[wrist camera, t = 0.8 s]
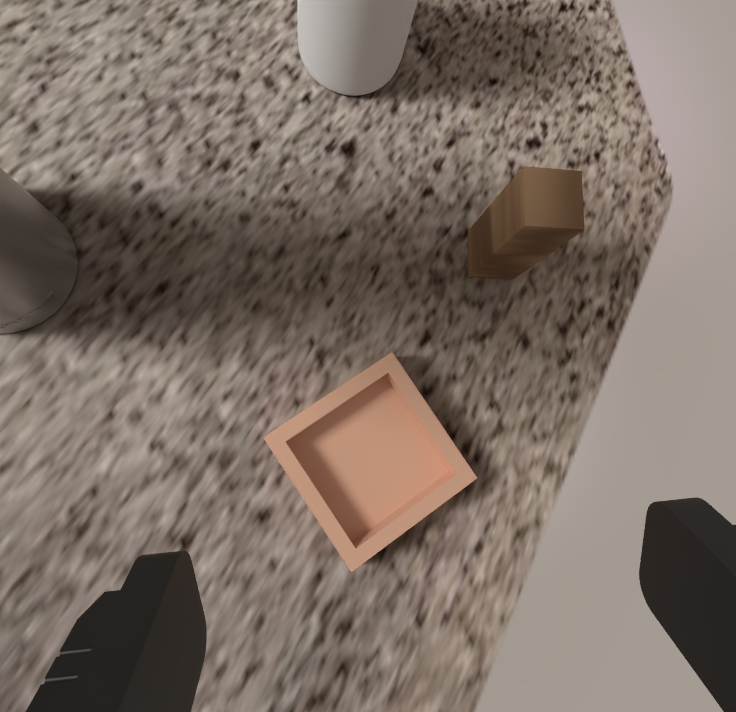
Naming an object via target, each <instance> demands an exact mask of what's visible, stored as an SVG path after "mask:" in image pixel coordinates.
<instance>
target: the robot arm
mask: <svg viewBox="0 0 736 712" xmlns="http://www.w3.org/2000/svg"><path fill="white" fill-rule="evenodd" d="M77 268H78V259H77V251H76V247H75V244H74V242H73V239H72V236H71V235H70V233H69V232H68V230H67V229H66V227H65V226H64V224H63V223H62V222H60V221H59V220H58V219H57V218H56V217H55V216H54V215H53V214H52V213H51V212H50V211H49V210H47V209H46V208H45V207H44V206H43V205H42V204H41V203H39V202H38V201H37V200H36V199H35V198H34V197H33V196H32V195H31V194H29V193H28V192H27V191H26V190H25V189H24V188H23V187H21V186H20V185H19V184H18V183H17V182H16V181H15V180H13V179H12V178H11V177H10V176H9V175H8V174H7V173H5V172H4V171H3V170H2V169H1V168H0V334H5V333H14V332H18V331H22V330H26V329H29V328H31V327H33V326H35V325H38V324H40V323H42V322H43V321H44V320H46V319H47V318H49V317H50V316H52V315H53V314H54V313H55V312H56V311H57V310H58V309H59V308H60V307H61V306H62V305H63V304H64V302H65V301H66V299H67V297H68V296H69V294H70V293H71V291H72V288H73V286H74V283H75V280H76V277H77ZM639 579H640V585H641V589H642V592H643V595H644V598H645V600H646V603H647V605H648V606H649V608H650V610H651V611H652V613H653V614H654V615H655V617H656V618H657V620H658V621H659V622H660V624H661V625H662V627H663V628H664V629H665V631H666V632H667V634H668V635H669V636H670V638H671V639H672V641H673V642H674V643H675V644H676V646H677V647H678V649H679V650H680V652H681V653H682V654H683V656H684V657H685V659H686V660H687V661H688V663H689V664H690V665H691V667H692V668H693V670H694V671H695V672H696V673H697V675H698V676H699V678H700V679H701V681H702V682H703V683H704V685H705V686H706V688H707V689H708V690H709V692H710V693H711V694H712V696H713V697H714V698H715V700H716V701H717V703H718V704H719V706H720V707H721V708H722V710H723V711H724V712H736V525H732V524H731V523H730V522H729V521H727V520H726V519H725V518H724V517H723V516H722V515H721V514H720V513H718V512H717V511H716V510H715V509H714V508H713V507H712V506H711V505H709V504H708V503H707V502H706V501H704V500H702V499H700V498H688V499H678V500H669V501H659V502H654V503H652V504H650V506H649V507H648V510H647V515H646V523H645V530H644V538H643V546H642V555H641V562H640V570H639ZM205 651H206V621H205V616H204V611H203V607H202V603H201V599H200V595H199V590H198V586H197V582H196V578H195V573H194V569H193V565H192V561H191V558H190V555H189V554H188V552H187V551H177V552H168V553H158V554H149V555H141V556H139V557H138V558H137V559H136V560H135V562H134V564H133V566H132V568H131V570H130V572H129V574H128V576H127V578H126V580H125V582H124V584H123V586H122V588H121V590H118V591H109V592H104V593H103V594H102V595H101V596H100V597H99V598H98V599H97V600H96V601H95V602H94V603H93V604H92V605H91V606H90V607H89V608H88V609H87V610H86V611H85V612H84V613H83V614H82V615H81V616H80V617H79V618H78V619H77V621H76V623H75V625H74V626H73V628H72V630H71V632H70V634H69V635H68V637H67V639H66V641H65V643H64V644H63V646H62V648H61V650H60V656H59V657H56V659H55V660H54V662H53V664H52V666H51V668H50V669H49V671H48V673H47V675H46V677H45V683H44V684H41V685H40V687H39V689H38V691H37V693H36V694H35V696H34V698H33V700H32V702H31V703H30V705H29V707H28V709H27V710H26V712H191V709H192V705H193V701H194V697H195V693H196V689H197V685H198V681H199V677H200V674H201V670H202V666H203V662H204V657H205Z"/></svg>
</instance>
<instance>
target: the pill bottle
mask: <svg viewBox="0 0 736 712" xmlns="http://www.w3.org/2000/svg"><path fill="white" fill-rule="evenodd" d="M417 2H418V0H298V45H299V51H300V55H301V58H302V61H303V63H304V65H305V67H306V69H307V70H308V72H309V73H310V74H311V76H312V77H313V78H314V79H315V80H316V81H317V82H318V83H320V84H321V85H322V86H324V87H325V88H327V89H329V90H331V91H333V92H336V93H339V94H343V95H351V96H357V95H365V94H368V93H371V92H374V91H376V90H378V89H380V88H381V87H383V86H384V85H385V84H386V83H387V82H389V80H390V79H391V78H392V77H393V75H394V74H395V72H396V70H397V68H398V66H399V64H400V62H401V59H402V55H403V52H404V48H405V44H406V41H407V37H408V34H409V30H410V27H411V23H412V20H413V16H414V13H415V9H416V5H417Z"/></svg>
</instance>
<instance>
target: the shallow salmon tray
mask: <svg viewBox="0 0 736 712" xmlns="http://www.w3.org/2000/svg"><path fill="white" fill-rule="evenodd" d="M263 438H264V440H265V441H266V443H267V444H268V446H269V447H270V449H271V450H272V452H273V453H274V455H275V456H276V458H277V459H278V461H279V462H280V464H281V465H282V467H283V469H284V470H285V472H286V473H287V475H288V476H289V478H290V479H291V481H292V482H293V484H294V485H295V487H296V488H297V490H298V491H299V493H300V494H301V496H302V498H303V499H304V501H305V502H306V504H307V505H308V507H309V508H310V510H311V511H312V513H313V514H314V516H315V517H316V519H317V520H318V522H319V523H320V525H321V526H322V528H323V530H324V531H325V533H326V534H327V536H328V537H329V539H330V540H331V542H332V543H333V545H334V546H335V548H336V549H337V551H338V552H339V554H340V555H341V557H342V558H343V560H344V562H345V563H346V565H347V566H348V568H349V569H350V571H351V572H352V571H354V570H355V569H356V568H358V567H359V566H360V565H362V564H363V563H364V562H366V561H367V560H368V559H370V558H371V557H372V556H374V555H375V554H376V553H378V552H379V551H380V550H382V549H383V548H384V547H386V546H387V545H388V544H390V543H391V542H392V541H394V540H395V539H396V538H398V537H399V536H400V535H402V534H403V533H404V532H406V531H407V530H408V529H410V528H411V527H412V526H414V525H415V524H416V523H418V522H419V521H421V520H422V519H423V518H425V517H426V516H427V515H429V514H430V513H431V512H433V511H434V510H435V509H437V508H438V507H439V506H441V505H442V504H443V503H445V502H446V501H447V500H449V499H450V498H451V497H453V496H454V495H455V494H457V493H458V492H459V491H461V490H462V489H463V488H465V487H466V486H467V485H469V484H470V483H471V482H473V481H474V480H475V479H477V477H476V475H475V474H474V472H473V471H472V469H471V468H470V466H469V465H468V463H467V462H466V461H465V459H464V458H463V456H462V455H461V453H460V452H459V450H458V449H457V447H456V446H455V444H454V443H453V441H452V440H451V438H450V437H449V435H448V434H447V432H446V431H445V429H444V428H443V426H442V425H441V423H440V422H439V420H438V419H437V418H436V416H435V415H434V413H433V412H432V410H431V409H430V407H429V406H428V404H427V403H426V401H425V400H424V398H423V397H422V395H421V394H420V392H419V391H418V389H417V388H416V386H415V385H414V383H413V382H412V380H411V379H410V377H409V376H408V374H407V373H406V372H405V370H404V369H403V367H402V366H401V364H400V363H399V361H398V360H397V358H396V357H395V355H394V354H393V352H391V353H390V354H388V355H387V356H385V357H383V358H382V359H380V360H379V361H377V362H376V363H374V364H373V365H371V366H370V367H368V368H367V369H365V370H364V371H362V372H361V373H359V374H358V375H356V376H355V377H353V378H352V379H350V380H349V381H347V382H346V383H344V384H343V385H341V386H340V387H338V388H337V389H335V390H334V391H332V392H331V393H329V394H328V395H326V396H325V397H323V398H322V399H320V400H319V401H317V402H316V403H314V404H313V405H311V406H310V407H308V408H307V409H305V410H304V411H302V412H301V413H299V414H298V415H296V416H295V417H293V418H292V419H290V420H289V421H287V422H286V423H284V424H283V425H281V426H280V427H278V428H277V429H275V430H274V431H272V432H271V433H269V434H268V435H266V436H265V437H263Z"/></svg>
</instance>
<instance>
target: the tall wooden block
mask: <svg viewBox="0 0 736 712" xmlns="http://www.w3.org/2000/svg"><path fill="white" fill-rule="evenodd" d="M583 230H584V215H583V193H582V171H574V170H562V169H549V168H537V167H525V166H523V167H522V168H521V170H520V171H519V172H518V173H517V174H516V175H515V177H514V178H513V179H512V180H511V181H510V182H509V184H508V185H507V186H506V187H505V188H504V190H503V191H502V192H501V193H500V194H499V195H498V197H497V198H496V199H495V200H494V201H493V202H492V204H491V205H490V206H489V207H488V208H487V209H486V211H485V212H484V213H483V214H482V215H481V216H480V218H479V219H478V220H477V221H476V222H475V224H474V225H473V226H472V227H471V228H470V229H469V231H468V232H467V235H468V277H480V278H499V279H514V278H516V277H517V276H518V275H520V274H521V273H523V272H524V271H526V270H527V269H528V268H530V267H531V266H533V265H534V264H536V263H537V262H538V261H540V260H541V259H543V258H544V257H546V256H547V255H548V254H550V253H551V252H553V251H554V250H556V249H557V248H558V247H560V246H561V245H563V244H564V243H566V242H567V241H568V240H570V239H571V238H573V237H574V236H576V235H577V234H578V233H580V232H581V231H583Z"/></svg>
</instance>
